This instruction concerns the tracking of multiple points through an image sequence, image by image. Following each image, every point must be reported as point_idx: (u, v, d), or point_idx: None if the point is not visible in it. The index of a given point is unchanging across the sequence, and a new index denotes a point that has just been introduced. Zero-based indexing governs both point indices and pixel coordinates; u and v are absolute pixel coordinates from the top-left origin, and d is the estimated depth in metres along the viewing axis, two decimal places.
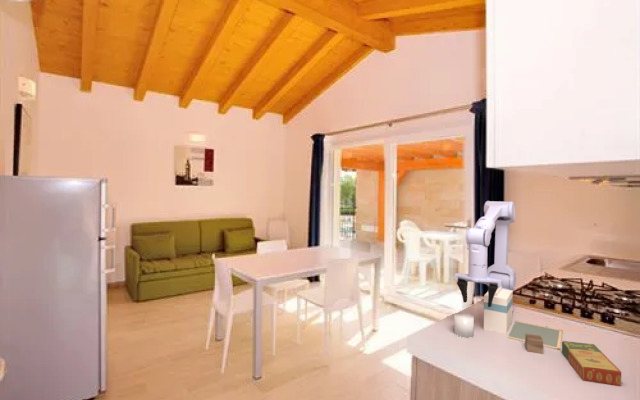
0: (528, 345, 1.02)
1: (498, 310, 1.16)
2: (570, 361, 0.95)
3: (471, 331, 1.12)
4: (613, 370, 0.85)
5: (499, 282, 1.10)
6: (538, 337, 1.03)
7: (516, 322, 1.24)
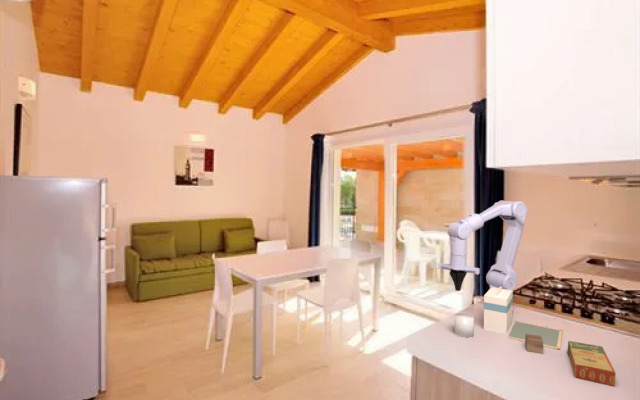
0: (528, 345, 1.02)
1: (498, 310, 1.16)
2: (570, 360, 0.96)
3: (471, 331, 1.12)
4: (607, 370, 0.85)
5: (476, 270, 1.24)
6: (538, 337, 1.03)
7: (516, 322, 1.24)
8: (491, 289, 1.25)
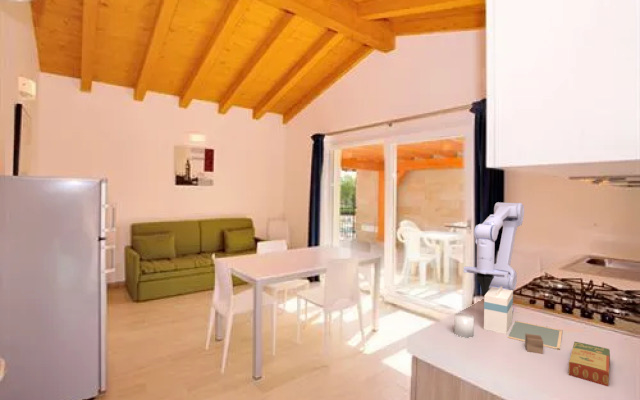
0: (528, 345, 1.02)
1: (498, 310, 1.16)
2: None
3: (471, 331, 1.12)
4: (600, 369, 0.86)
5: (505, 274, 1.18)
6: (538, 337, 1.03)
7: (516, 322, 1.24)
8: (491, 289, 1.25)
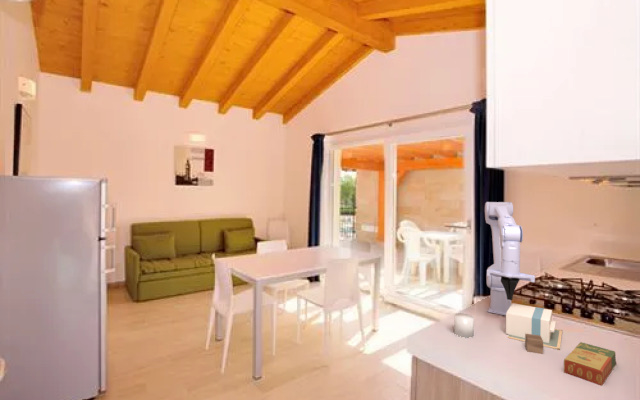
0: (528, 345, 1.02)
1: (533, 331, 1.10)
2: None
3: (471, 331, 1.12)
4: (594, 368, 0.86)
5: (532, 278, 1.13)
6: (538, 337, 1.03)
7: None
8: (551, 314, 1.14)
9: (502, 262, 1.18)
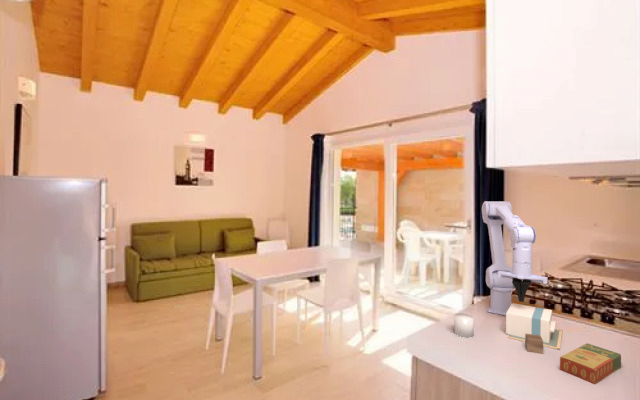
0: (528, 345, 1.02)
1: (533, 331, 1.10)
2: None
3: (471, 331, 1.12)
4: (588, 367, 0.87)
5: (545, 279, 1.11)
6: (538, 337, 1.03)
7: None
8: (551, 314, 1.14)
9: (514, 263, 1.16)
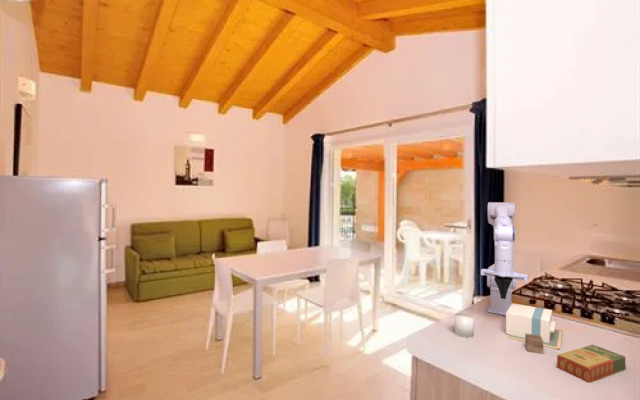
0: (528, 345, 1.02)
1: (533, 331, 1.10)
2: None
3: (471, 331, 1.12)
4: (583, 365, 0.87)
5: (525, 277, 1.15)
6: (538, 337, 1.03)
7: None
8: (551, 314, 1.14)
9: (496, 261, 1.19)
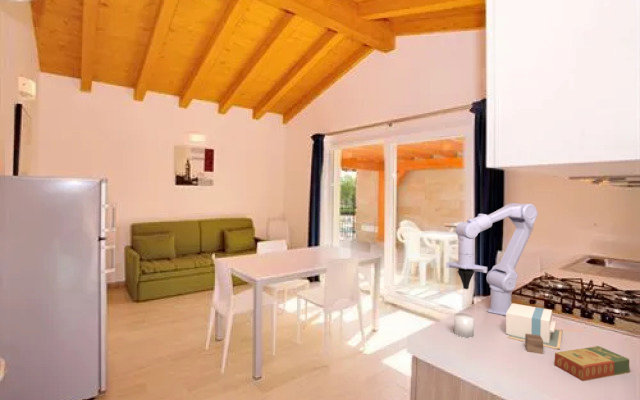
0: (528, 345, 1.02)
1: (533, 331, 1.10)
2: None
3: (471, 331, 1.12)
4: (578, 364, 0.88)
5: (484, 269, 1.26)
6: (538, 337, 1.03)
7: None
8: (551, 314, 1.14)
9: (459, 255, 1.31)
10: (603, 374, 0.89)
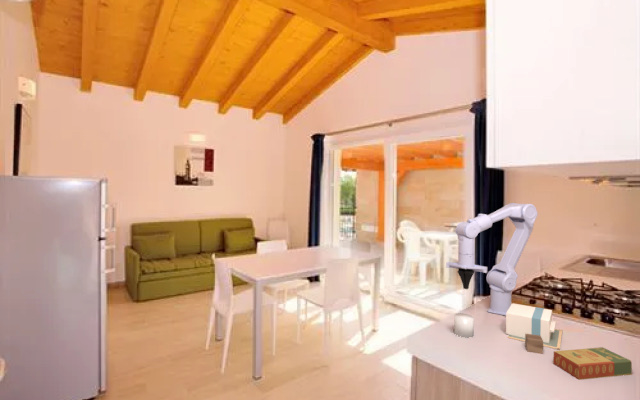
0: (528, 345, 1.02)
1: (533, 331, 1.10)
2: None
3: (471, 331, 1.12)
4: (574, 362, 0.89)
5: (484, 269, 1.26)
6: (538, 337, 1.03)
7: None
8: (551, 314, 1.14)
9: (459, 255, 1.31)
10: (601, 374, 0.89)
